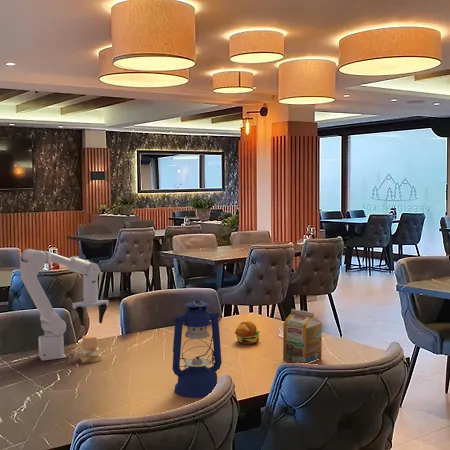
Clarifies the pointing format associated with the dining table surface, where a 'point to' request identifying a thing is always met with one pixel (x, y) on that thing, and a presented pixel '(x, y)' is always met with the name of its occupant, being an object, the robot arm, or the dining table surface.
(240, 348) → the dining table surface
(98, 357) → the bottom block
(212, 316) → the lantern
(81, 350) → the top block
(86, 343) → the cube
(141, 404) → the dining table surface
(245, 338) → the cheeseburger
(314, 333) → the milk carton
